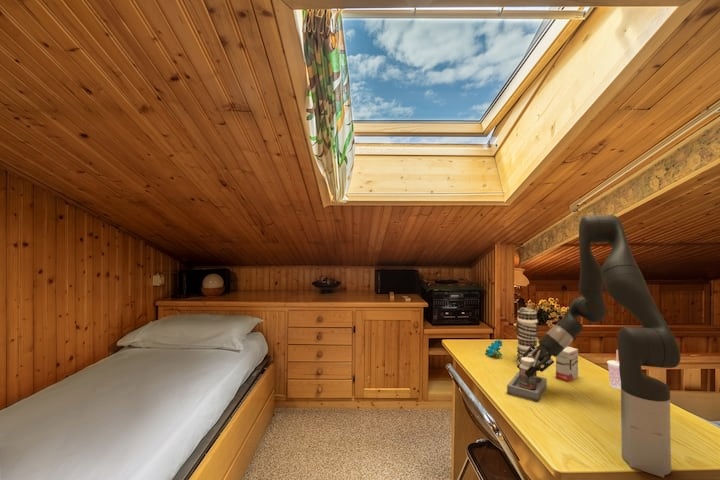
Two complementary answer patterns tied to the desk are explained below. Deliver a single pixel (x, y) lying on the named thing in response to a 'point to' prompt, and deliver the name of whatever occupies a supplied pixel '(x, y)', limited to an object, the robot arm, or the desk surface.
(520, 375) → the pill bottle
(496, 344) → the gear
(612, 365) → the beverage cup
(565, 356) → the ink box
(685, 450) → the desk surface
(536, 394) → the tray
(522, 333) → the black white patterned cylinder
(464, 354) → the desk surface
